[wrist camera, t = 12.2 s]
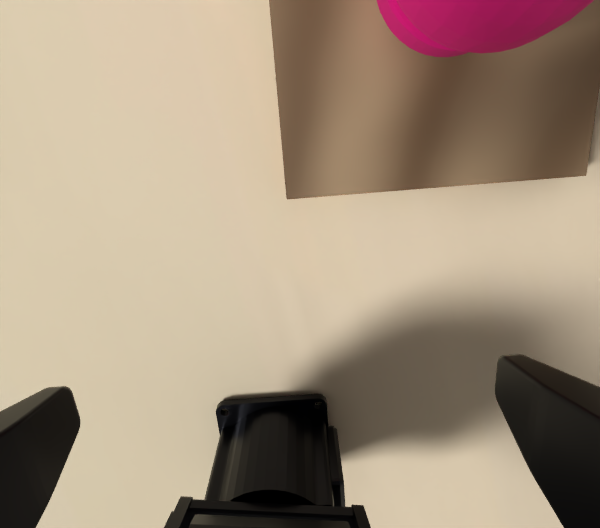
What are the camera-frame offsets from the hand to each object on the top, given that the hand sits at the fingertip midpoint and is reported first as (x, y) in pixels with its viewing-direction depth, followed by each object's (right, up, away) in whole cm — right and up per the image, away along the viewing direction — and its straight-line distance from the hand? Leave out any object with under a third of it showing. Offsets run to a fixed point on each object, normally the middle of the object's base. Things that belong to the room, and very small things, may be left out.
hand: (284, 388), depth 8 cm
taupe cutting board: (+6, +13, +9) cm, 17 cm away
